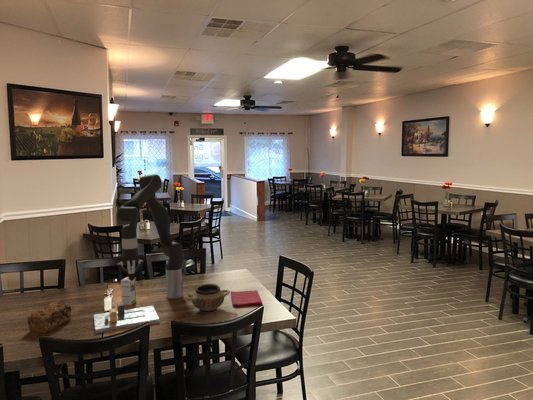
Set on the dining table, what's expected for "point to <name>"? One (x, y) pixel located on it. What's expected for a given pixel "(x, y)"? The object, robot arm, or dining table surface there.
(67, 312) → the bread
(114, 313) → the fader knob
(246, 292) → the dish towel
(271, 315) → the dining table surface
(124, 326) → the console panel
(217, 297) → the ceramic bowl
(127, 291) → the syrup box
